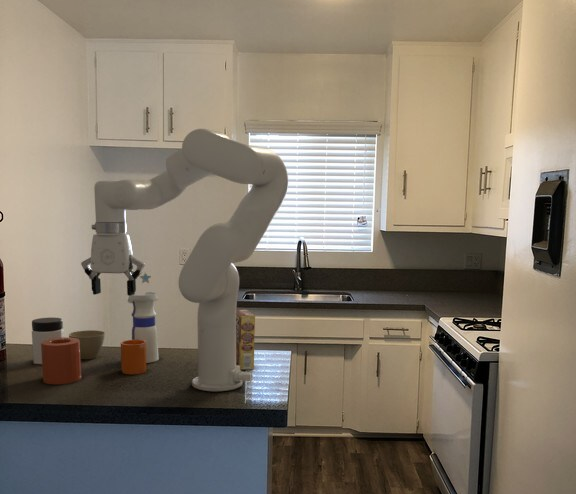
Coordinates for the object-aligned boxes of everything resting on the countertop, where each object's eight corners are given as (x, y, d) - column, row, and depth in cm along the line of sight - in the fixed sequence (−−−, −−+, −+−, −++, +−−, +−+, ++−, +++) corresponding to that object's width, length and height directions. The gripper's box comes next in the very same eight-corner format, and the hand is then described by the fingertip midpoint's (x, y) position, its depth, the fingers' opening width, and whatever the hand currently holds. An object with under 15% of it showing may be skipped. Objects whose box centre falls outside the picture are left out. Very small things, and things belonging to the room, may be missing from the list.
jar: (58, 356, 184) (56, 316, 182) (70, 361, 179) (68, 320, 177) (28, 361, 178) (25, 319, 176) (39, 366, 173) (36, 324, 171)
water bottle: (126, 358, 183) (123, 273, 179) (154, 354, 187) (152, 271, 183) (133, 364, 176) (130, 276, 172) (163, 361, 180) (160, 274, 176)
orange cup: (150, 368, 171) (149, 340, 170) (139, 375, 165) (138, 345, 164) (129, 367, 173) (128, 338, 172) (117, 373, 167) (116, 344, 165)
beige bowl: (95, 362, 177) (94, 337, 176) (63, 360, 179) (61, 336, 178) (111, 354, 187) (110, 330, 186) (81, 352, 189) (80, 329, 188)
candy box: (255, 369, 172) (255, 314, 169) (240, 370, 170) (239, 315, 168) (248, 361, 180) (248, 309, 178) (233, 362, 179) (233, 309, 176)
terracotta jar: (88, 375, 164) (86, 338, 162) (68, 385, 155) (66, 346, 154) (57, 373, 166) (55, 336, 165) (35, 382, 157) (33, 344, 156)
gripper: (73, 229, 160) (76, 295, 163) (136, 230, 157) (139, 297, 160) (87, 228, 168) (90, 291, 170) (148, 229, 165) (150, 293, 167)
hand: (114, 294), depth 165 cm, fingers open, 9 cm apart
